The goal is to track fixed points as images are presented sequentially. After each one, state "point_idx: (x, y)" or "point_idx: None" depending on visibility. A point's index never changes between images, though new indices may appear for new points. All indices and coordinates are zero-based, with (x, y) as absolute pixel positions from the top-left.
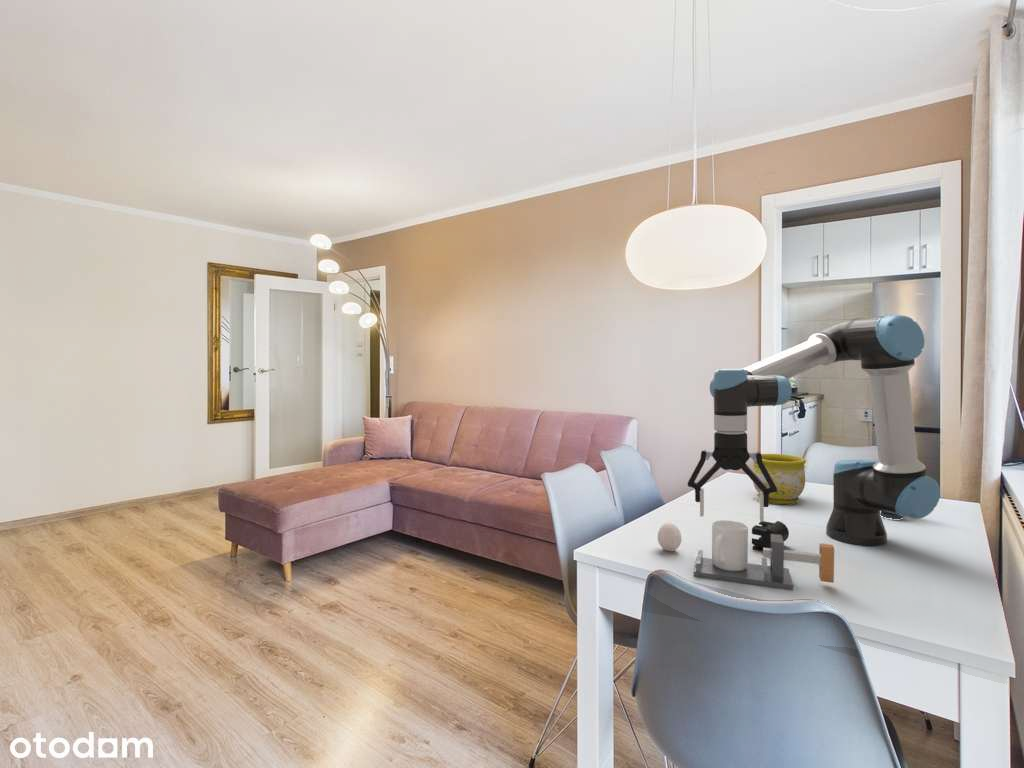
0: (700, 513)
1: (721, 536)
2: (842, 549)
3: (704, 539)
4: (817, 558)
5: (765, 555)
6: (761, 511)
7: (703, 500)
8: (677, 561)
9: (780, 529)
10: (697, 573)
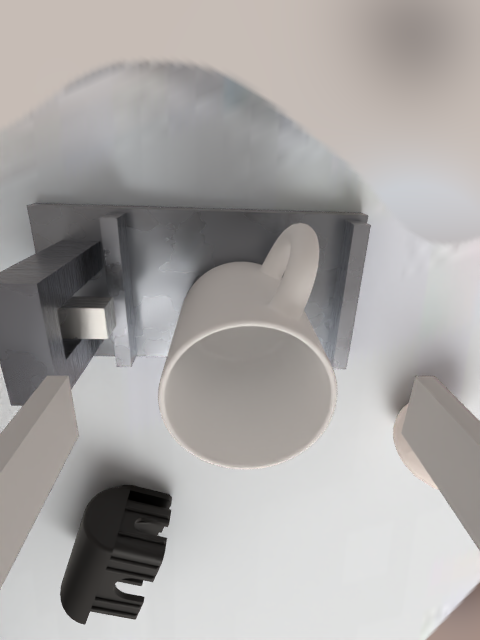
0: (442, 387)
1: (292, 286)
2: None
3: (302, 522)
4: None
5: (103, 299)
6: (29, 418)
7: (462, 482)
8: (401, 331)
9: (74, 573)
10: (353, 213)
